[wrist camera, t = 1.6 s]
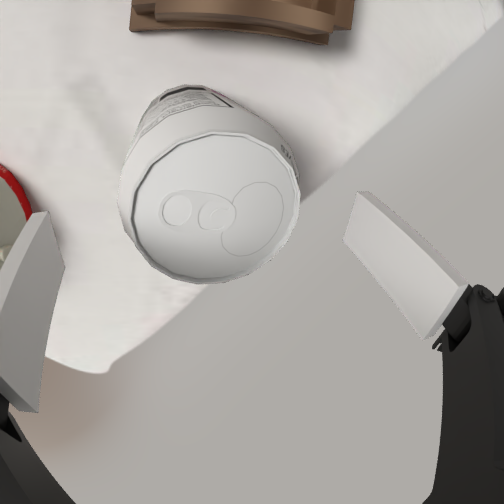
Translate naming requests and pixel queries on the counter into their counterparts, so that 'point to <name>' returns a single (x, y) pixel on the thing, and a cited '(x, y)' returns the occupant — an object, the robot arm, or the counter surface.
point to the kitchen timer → (11, 212)
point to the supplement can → (207, 187)
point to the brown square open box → (247, 16)
